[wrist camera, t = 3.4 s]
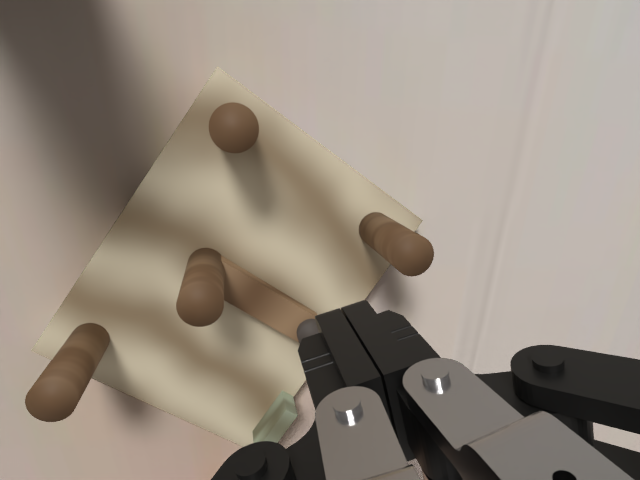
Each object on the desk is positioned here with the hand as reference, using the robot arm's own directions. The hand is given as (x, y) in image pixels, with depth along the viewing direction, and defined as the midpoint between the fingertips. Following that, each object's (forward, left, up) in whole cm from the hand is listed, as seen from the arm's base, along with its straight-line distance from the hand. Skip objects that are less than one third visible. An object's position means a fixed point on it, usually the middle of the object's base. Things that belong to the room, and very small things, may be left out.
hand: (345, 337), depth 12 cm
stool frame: (-6, -1, -21) cm, 21 cm away
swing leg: (-6, -2, -18) cm, 19 cm away
